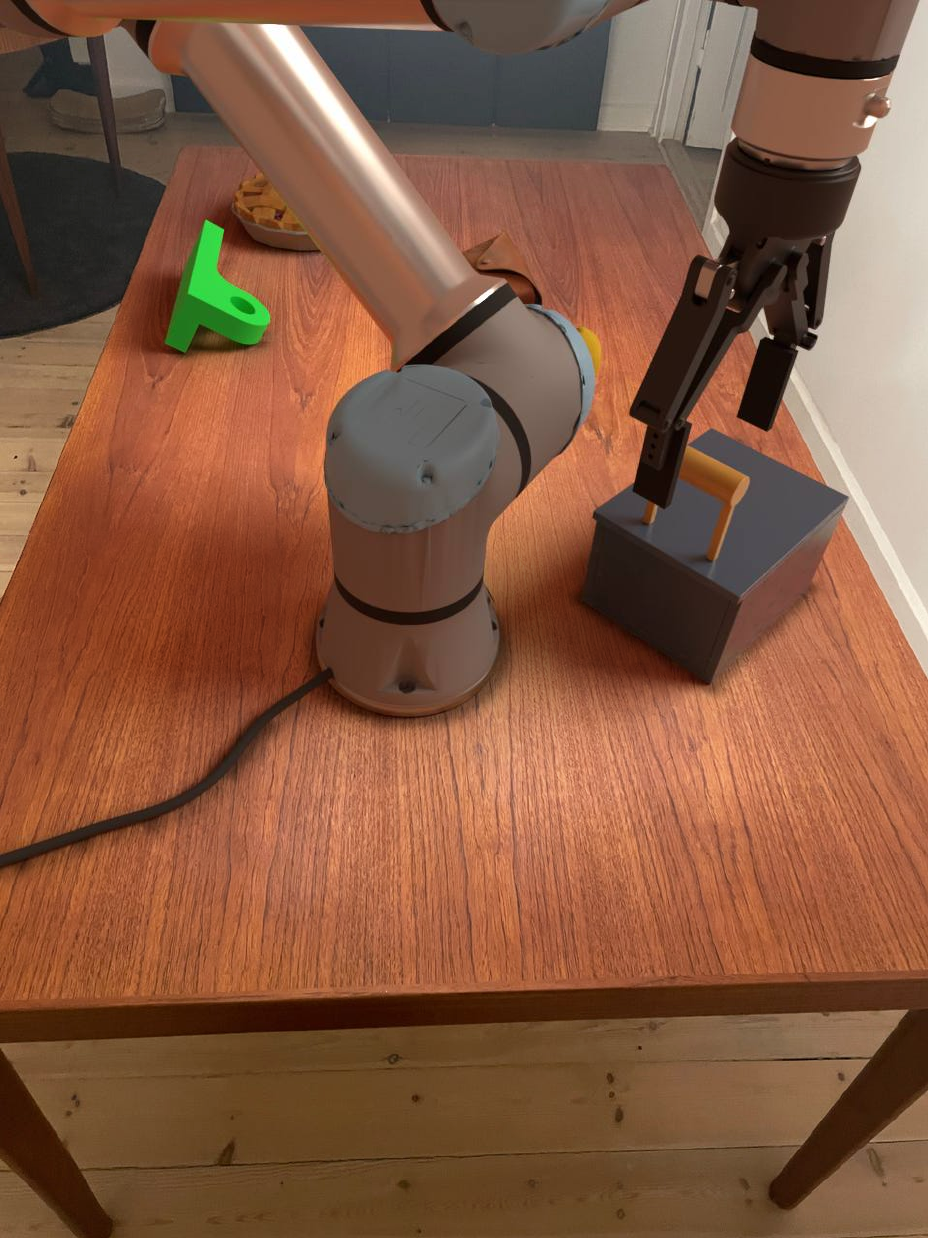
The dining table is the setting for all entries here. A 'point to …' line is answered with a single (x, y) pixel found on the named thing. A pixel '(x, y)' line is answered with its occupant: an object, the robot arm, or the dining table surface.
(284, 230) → the pie
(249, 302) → the green corner bracket
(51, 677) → the dining table surface
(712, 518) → the tin lid
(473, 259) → the sunglasses case
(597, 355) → the lemon
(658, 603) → the tin
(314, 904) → the dining table surface
